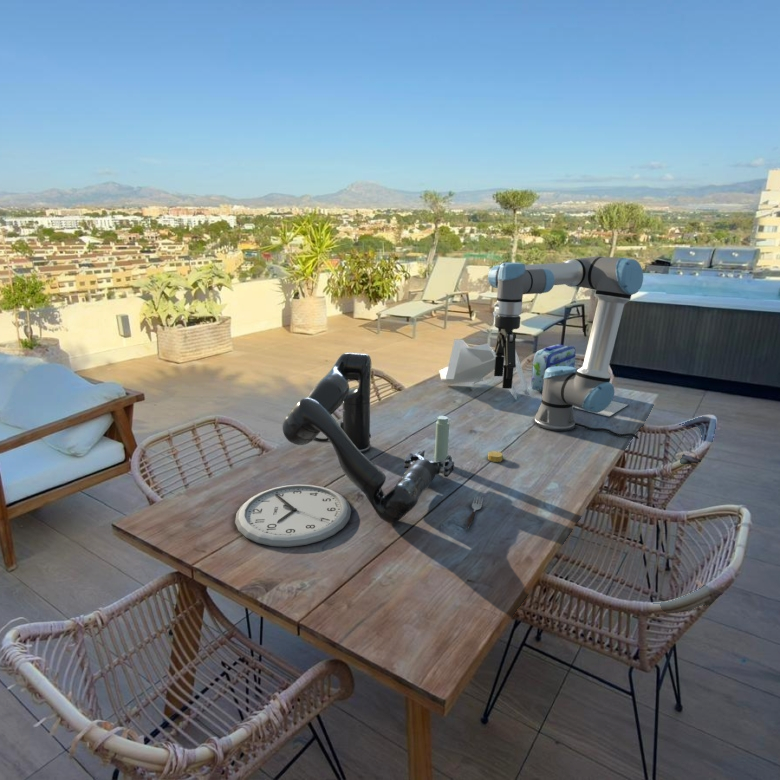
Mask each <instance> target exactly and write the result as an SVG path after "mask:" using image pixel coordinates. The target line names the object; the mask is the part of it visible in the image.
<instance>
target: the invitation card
mask: <svg viewBox="0 0 780 780" xmlns="http://www.w3.org/2000/svg"><path fill="white" fill-rule="evenodd" d="M628 406H629V404H627V403H623V402H618V401H614V400H612V401H611V403H610V404H609V405H608V407H606V408H605V409H604V410H603V411H601V412H597V413H595V412H591V411H587V413H593V414H596V415H600V416H604V417H608V418H609V417H611V416H613V415H614V414H616V413H617V412H619V411H621V410H623V409H624V408H626V407H628ZM573 409H575V410H581V411H584V412H586V411H585V410H584V409H582V408H579V407H576V406H574V407H573Z"/></svg>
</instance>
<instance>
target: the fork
mask: <svg viewBox="0 0 780 780" xmlns="http://www.w3.org/2000/svg"><path fill="white" fill-rule="evenodd" d="M483 499H484V496H482V498H481V495H480V496H479V495H476V496H474V498H473V501H472V504H471V508H472V510H473V511H472V512H471V514H470V515H469V517H468V522H467V525H466V530H469V528H470V526H471V524H472V523H473V521H474V519H475V515H476V514H475V513H476V511H478V510H481V509H482V506H483V501H484V500H483Z"/></svg>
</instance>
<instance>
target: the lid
mask: <svg viewBox="0 0 780 780" xmlns="http://www.w3.org/2000/svg"><path fill="white" fill-rule="evenodd" d="M503 456H504V454H503V452H501V451H498V450H490V451H489V452H487V460H488V461H489V462H493V463H500V462H502V461H503V460H504V457H503Z"/></svg>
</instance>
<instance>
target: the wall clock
mask: <svg viewBox="0 0 780 780" xmlns="http://www.w3.org/2000/svg"><path fill="white" fill-rule="evenodd" d="M351 514H352V509H351V504H350V503H349V501H348V500H347V499H346V498H345V497H344V496H343V495H341V494H340V493H338V492H337V491H335V490H333V489H330V488H327V487H323V486H318V485H313V484H290V485H289V484H288V485H282V486H277V487H272V488H269V489H267V490H264V491H261V492H259V493H257V494H255V495H254V496H252V497H250V498H248V499H247V500H246V501H245V502H244V503H243V504H242V505H240V507H239V509H238V510H237V511H236V514H235V520H234V524H235V526H236V529H237V531H238V532H239V533H240V534H241V535H242V536H243V537H245V538H246V539H248V540H250V541H252V542H254V543H257V544H261V545H266V546H270V547H283V548H284V547H285V548H286V547H287V548H289V547H298V546H306V545H311V544H313V543H319V542H322V541H324V540H327V539H328V538H330V537H332V536H334V535H336V534H337V533H339V532H340V531H341V530H343V529H345V526H346V525H347V524H348V522H350V518H351Z"/></svg>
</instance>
